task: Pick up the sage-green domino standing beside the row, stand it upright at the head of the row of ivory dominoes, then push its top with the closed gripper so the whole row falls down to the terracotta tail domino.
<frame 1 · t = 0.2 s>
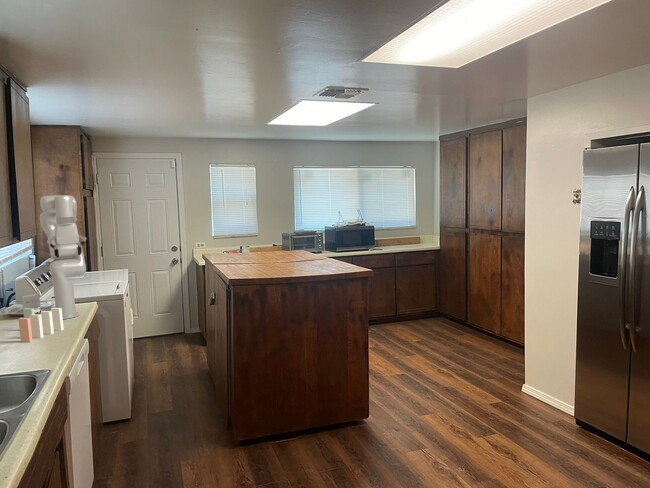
hand: (68, 256, 237), 37 cm above the countertop, tool pointing down, fingers open, 9 cm apart
domino 3: (48, 333, 235), on the countertop
domino 2: (58, 329, 241), on the countertop
small box: (32, 313, 278), on the countertop
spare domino: (31, 330, 242), on the countertop
domino 4: (37, 337, 229), on the countertop
domino 5: (26, 341, 223), on the countertop
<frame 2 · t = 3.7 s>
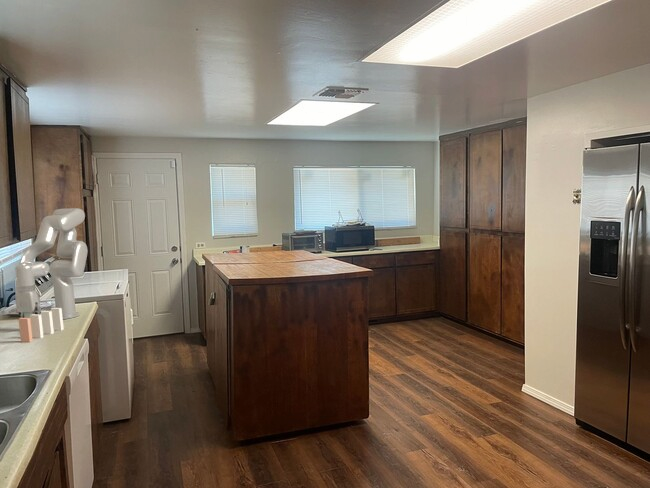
hand: (30, 324, 242), 3 cm above the countertop, tool pointing down, fingers closed on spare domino, 4 cm apart
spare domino: (31, 330, 242), on the countertop, touching gripper
everything else where it was.
when the fingers open (4 cm above the countertop, at t = 10.0 s): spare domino stays where it is, on the countertop.
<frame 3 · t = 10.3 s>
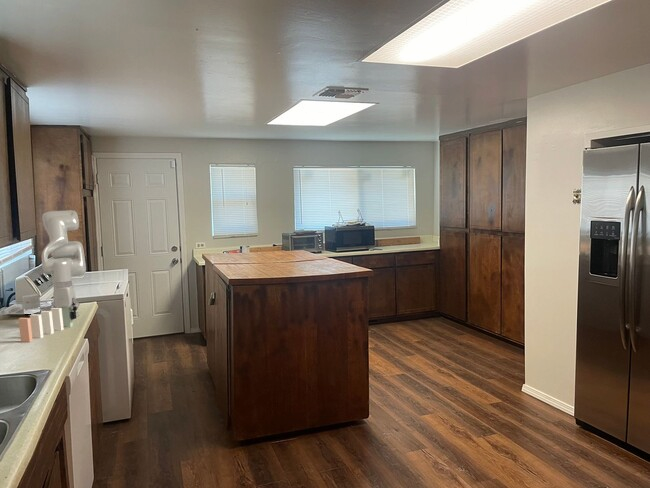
hand: (66, 318, 246), 4 cm above the countertop, tool pointing down, fingers open, 7 cm apart
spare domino: (67, 326, 247), on the countertop
everything else where it was.
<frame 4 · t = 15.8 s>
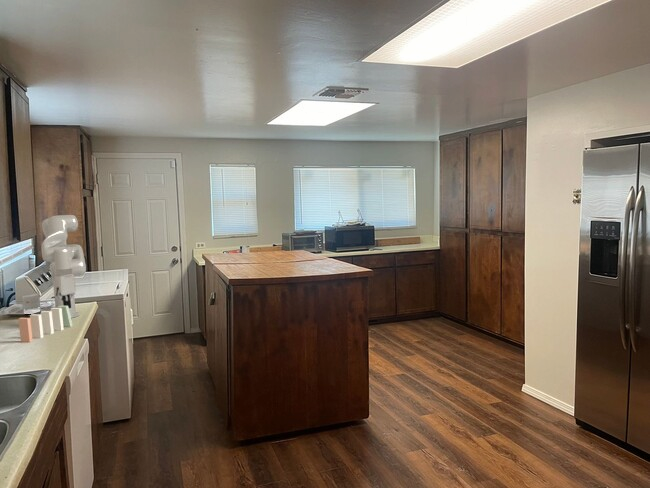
hand: (67, 308, 246), 9 cm above the countertop, tool pointing down, fingers closed
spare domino: (67, 326, 247), on the countertop, tilted 9°
everything else where it was.
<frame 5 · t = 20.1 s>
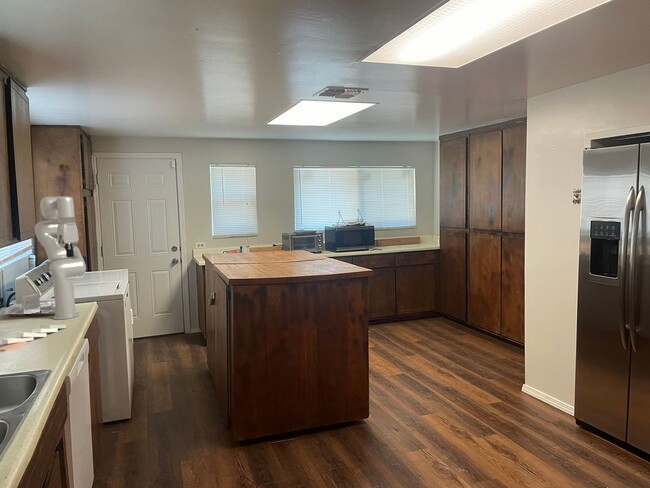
hand: (70, 256, 248), 35 cm above the countertop, tool pointing down, fingers closed
domino 3: (43, 334, 230), point 1 cm above the countertop, tilted 73°, touching domino 2, domino 4
domino 2: (53, 330, 238), point 1 cm above the countertop, tilted 75°, touching domino 3, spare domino
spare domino: (61, 326, 244), point 1 cm above the countertop, tilted 75°, touching domino 2
domino 4: (30, 338, 225), point 1 cm above the countertop, tilted 82°, touching domino 3
domino 5: (23, 343, 221), on the countertop, tilted 90°
everything else where it was.
at the end: domino 5 tilted 90°; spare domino tilted 75°; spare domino inside the target area (2.6 cm from its centre), point 0.8 cm above the countertop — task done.
